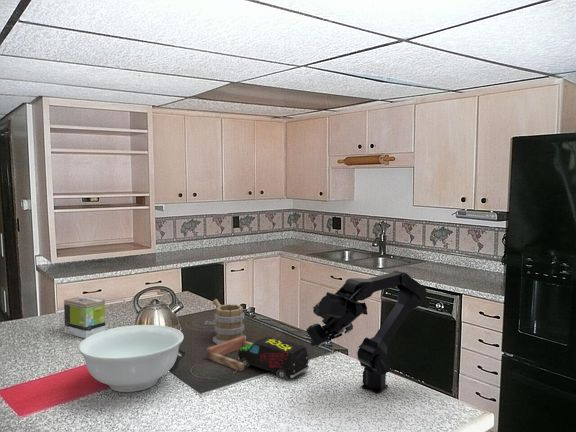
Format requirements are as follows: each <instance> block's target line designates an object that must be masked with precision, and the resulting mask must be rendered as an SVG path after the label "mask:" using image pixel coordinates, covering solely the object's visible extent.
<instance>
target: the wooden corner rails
mask: <svg viewBox="0 0 576 432" xmlns="http://www.w3.org/2000/svg"><path fill="white" fill-rule="evenodd" d="M253 343H254V342H250V341H247V340H245V337H243V336H240V337H237V338H234V339H231V340H229V341H226V342H223V343H220V344H214V345H212V346H209V347H207V348H206V359H208V360H210V361H213V362H214V363H218V364H220V365H223V366H225V367H228V368H231V369H233V370H236V371H238V372H243V371H245V367H244V363H242V362H240V360H237V359H234V358H231V357H227V356H225V355H228V354H230V353H233V352H235V351H239V349H240V348H242V347H245V346H247V345H250V344H253Z"/></svg>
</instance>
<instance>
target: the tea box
mask: <svg viewBox="0 0 576 432" xmlns="http://www.w3.org/2000/svg"><path fill="white" fill-rule="evenodd" d="M63 309H64V334H67V335H71V336H75V337H79V338H82V339H86V338H87V337H89V336H91V335H94V334H96V333H99V332H102V331H105V330H106V302H105V299H101V298H97V297H92V296H88V295H81V296H77V297H71V298H66V299H63Z"/></svg>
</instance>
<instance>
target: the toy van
mask: <svg viewBox="0 0 576 432" xmlns="http://www.w3.org/2000/svg"><path fill="white" fill-rule="evenodd" d="M252 343H253V344H250V345H247V346H245V347H242V348H240V349H238V350H237V353H238V355H237V356H238V358H237V359H238V361H239V362H242V363H244V368H247V369H248V368H249V367H250V366H253V367H256V368H259V369H263V370H266V371H269V372H271V373H275V374H276V378H278V379H283V380H286V379H288V377H289V378H291V379H292V378H295V377H297V376H298V375H301V374H303V373H304V372H305V371H307V370H308V369H309V368H310V366H309V355H308V350H307V347H306V346H305V345H302V344H299V343H297V342H292V341H288V340H284V339H280V338H278V337H272V336H265V337H263V338H259V339H258V340H256V341H254V342H252Z"/></svg>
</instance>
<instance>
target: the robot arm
mask: <svg viewBox="0 0 576 432" xmlns="http://www.w3.org/2000/svg"><path fill="white" fill-rule="evenodd" d="M394 287H395V288H396V289H397V290H398V293H397V301H396V303H395V305H394V306H393V308H392V309H391V311H390V312H389V314H388V316H387V317H386V318H385V320H384V322H383V323H382V325H381V326H380V327H379V329H378V331H377V332H376V334H374V336H373V337H371V338H369V337H367V336H366V337H365V338H364V339H363V340H362V343H361V344H360V345H358V350H357V352H356V354H357V359H358V361H359V364H360V367H363V371H362V384H361V386H360V388H361V389H364V390H368V391H370V392H373V393H376V394H380V393H381V392H382V391H384V390H386V389H387V388H388V386H389V385H388V384H387V383H386V381H387V380H386V379H387V378H386V377H387V373H390V370H391V368H392V366H391V364H390V363H389V362H388V361H387V359H386V358H387V357H388V346H389V344H390V342H391V341H392V340H393V338H394V336H395V335H396V334H397V332H398V330H399V329H400V328H401V326H402V324H403V323H404V321H405V320H406V319H407V317H408V315H409V314H410V312H411V311H412V310H414V309H416V308H418V307H419V306H421V304H422V303H423V302H424V301H425V300H426V298H427V295H428V293H427V288H426V287H425V285H423V284H421V283H419V282H418V281H417V280H415V279H413V278H412V277H411V276H410V275H409V274H408V273H407V272H405V271H400V270H394V271H392V272H388V273H385V274H381V275H377V276H373V277H370V278H360V277H356V278H348V279H346V280H345V282H344V284H343V285H342V286H341V287H340V288H339V289H338V290H337V291H336V292H335V293H333V292H329V291H327V292H326V294H325V295H324V296H323V297H322V298H321V300H319V302H317V304H315V306H313V307H312V309H313V310H312V311H313V314H314V315H316V316H317V317H320V318H321V319H322V320H321V321H322V323H323V324H324V325H321V324H320V323H313V324H311V325H309V326H308V327H307V328H306V330H305V331H306V333H307V334H308V336H309V337H310V339H311V341H310V345H311V347H315V346H317V347H319V346H322V345H324V344H326V343H329V341H330V340H335V339H338V338H340V337H342V336H343V333H344V334H345V335H346V334H349V333H350V332H352V330H354V325H353V322H354V321H355V320H356V319H358V318H359V316H360V315H366V316H367V315H368V306H367V305H366V304H367V303H366V302H361V301H365V300H367V299H368V298H370V297H372V296H373V294H374V293H376V292H380V291H384V290H386V289H390V288H394Z"/></svg>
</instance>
